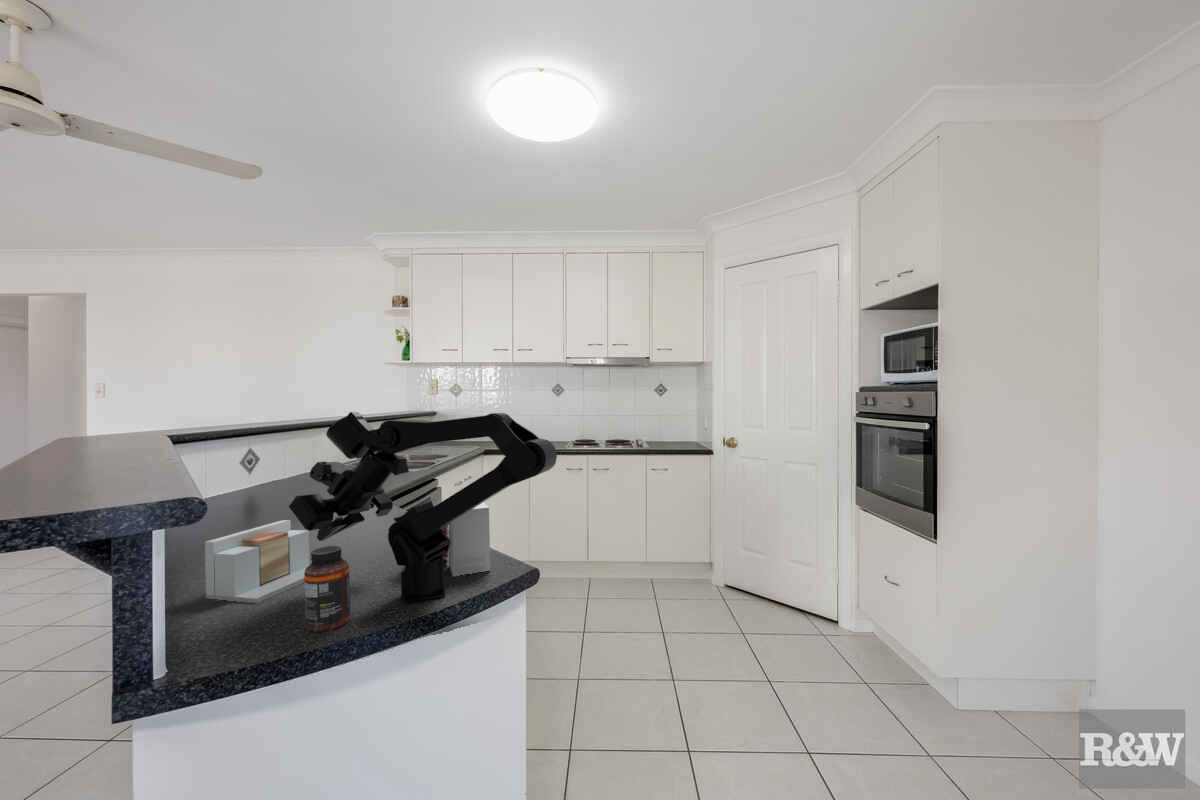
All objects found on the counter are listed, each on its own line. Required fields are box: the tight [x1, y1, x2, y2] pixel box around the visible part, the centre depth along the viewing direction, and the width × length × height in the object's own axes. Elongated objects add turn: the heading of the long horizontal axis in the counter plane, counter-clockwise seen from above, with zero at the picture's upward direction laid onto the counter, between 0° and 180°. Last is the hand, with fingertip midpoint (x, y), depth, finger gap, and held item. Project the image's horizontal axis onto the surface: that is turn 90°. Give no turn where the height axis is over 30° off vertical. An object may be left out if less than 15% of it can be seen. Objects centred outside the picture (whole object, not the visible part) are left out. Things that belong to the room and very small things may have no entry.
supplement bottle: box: [303, 545, 351, 633], centre depth 73 cm, size 6×6×11 cm
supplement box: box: [448, 501, 491, 577], centre depth 97 cm, size 7×7×13 cm
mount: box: [204, 519, 310, 604], centre depth 91 cm, size 11×16×10 cm
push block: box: [242, 532, 289, 584], centre depth 91 cm, size 4×6×8 cm, turn 168°
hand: (319, 538), depth 89 cm, fingers closed
